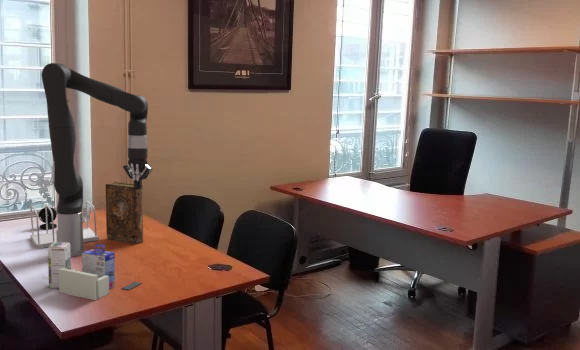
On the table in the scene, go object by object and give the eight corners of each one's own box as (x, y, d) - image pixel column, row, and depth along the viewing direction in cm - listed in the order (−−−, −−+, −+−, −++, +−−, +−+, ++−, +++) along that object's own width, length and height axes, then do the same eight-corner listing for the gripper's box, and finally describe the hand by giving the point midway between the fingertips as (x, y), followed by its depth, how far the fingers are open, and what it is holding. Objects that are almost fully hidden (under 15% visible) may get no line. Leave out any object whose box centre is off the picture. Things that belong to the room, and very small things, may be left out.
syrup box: (54, 282, 192) (52, 242, 189) (72, 282, 192) (70, 242, 190) (48, 288, 186) (46, 246, 184) (66, 288, 187) (65, 246, 184)
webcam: (40, 230, 255) (39, 209, 253) (38, 226, 261) (37, 206, 260) (58, 228, 259) (57, 207, 257) (56, 225, 265) (55, 204, 264)
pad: (121, 288, 188) (121, 288, 188) (134, 282, 194) (134, 281, 194) (128, 290, 186) (128, 289, 186) (141, 283, 193) (141, 282, 193)
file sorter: (89, 231, 256) (88, 198, 253) (99, 241, 241) (98, 206, 239) (30, 238, 242) (28, 204, 240) (36, 249, 228) (35, 212, 225)
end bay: (59, 292, 183) (58, 269, 182) (74, 285, 189) (73, 263, 188) (95, 300, 177) (94, 276, 176) (109, 293, 183) (108, 270, 182)
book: (145, 241, 243) (144, 185, 239) (137, 244, 238) (136, 187, 234) (115, 236, 249) (113, 181, 245) (106, 239, 244) (105, 183, 240)
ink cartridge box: (116, 286, 190) (115, 245, 188) (105, 291, 185) (104, 249, 183) (92, 281, 193) (91, 241, 191) (81, 287, 188) (80, 246, 186)
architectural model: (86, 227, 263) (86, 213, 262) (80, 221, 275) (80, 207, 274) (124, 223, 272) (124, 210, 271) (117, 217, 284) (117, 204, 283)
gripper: (117, 146, 217) (118, 189, 220) (145, 148, 212) (145, 193, 215) (130, 144, 224) (130, 186, 226) (157, 146, 219) (157, 189, 222)
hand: (137, 189), depth 221 cm, fingers closed
